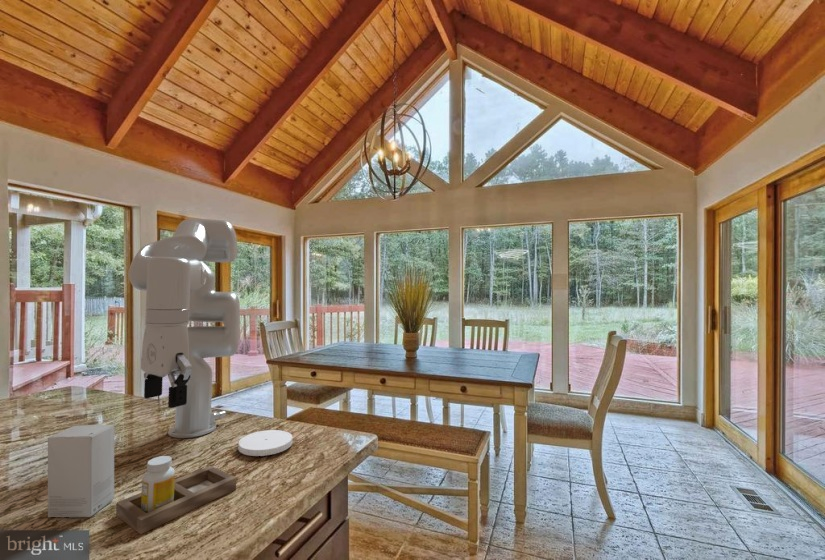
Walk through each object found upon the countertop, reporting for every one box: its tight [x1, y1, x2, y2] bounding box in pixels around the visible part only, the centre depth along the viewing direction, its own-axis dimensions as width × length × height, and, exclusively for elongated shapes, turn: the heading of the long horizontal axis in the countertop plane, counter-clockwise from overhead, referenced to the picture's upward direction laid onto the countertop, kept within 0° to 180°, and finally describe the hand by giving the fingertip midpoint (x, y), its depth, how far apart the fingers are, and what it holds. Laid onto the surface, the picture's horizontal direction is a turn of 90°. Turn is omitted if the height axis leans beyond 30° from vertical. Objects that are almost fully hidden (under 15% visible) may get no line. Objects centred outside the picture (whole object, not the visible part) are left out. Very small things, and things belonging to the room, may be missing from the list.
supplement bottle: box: [141, 455, 176, 513], centre depth 75 cm, size 5×5×10 cm
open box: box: [115, 465, 237, 535], centre depth 78 cm, size 18×10×2 cm, turn 148°
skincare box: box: [47, 424, 115, 518], centre depth 75 cm, size 8×7×16 cm
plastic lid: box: [237, 429, 294, 457], centre depth 106 cm, size 14×14×2 cm
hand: (164, 401), depth 78 cm, fingers open, 9 cm apart
